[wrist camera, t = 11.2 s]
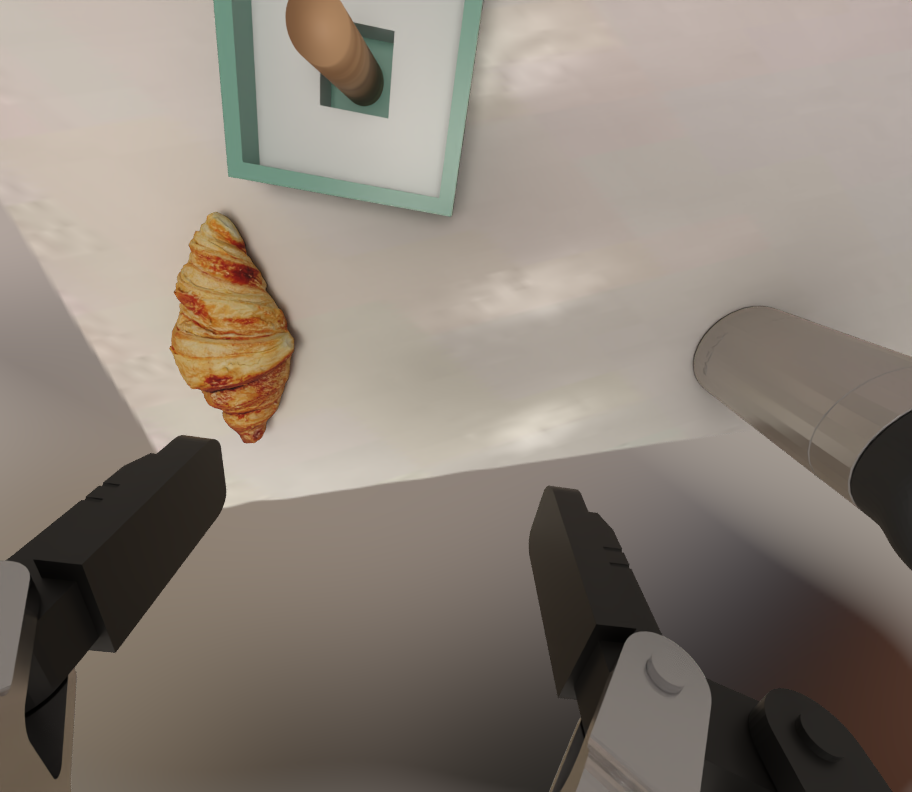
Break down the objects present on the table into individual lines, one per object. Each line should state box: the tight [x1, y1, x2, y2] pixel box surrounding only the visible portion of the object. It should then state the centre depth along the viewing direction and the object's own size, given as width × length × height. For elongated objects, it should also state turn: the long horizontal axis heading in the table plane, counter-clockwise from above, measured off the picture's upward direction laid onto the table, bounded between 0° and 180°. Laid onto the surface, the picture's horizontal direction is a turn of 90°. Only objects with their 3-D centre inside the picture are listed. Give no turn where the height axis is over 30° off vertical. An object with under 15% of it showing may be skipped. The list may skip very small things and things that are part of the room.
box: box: [213, 0, 484, 217], centre depth 26 cm, size 15×15×6 cm
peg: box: [285, 0, 384, 106], centre depth 23 cm, size 3×3×10 cm
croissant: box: [170, 212, 294, 443], centre depth 35 cm, size 21×10×8 cm, turn 177°
